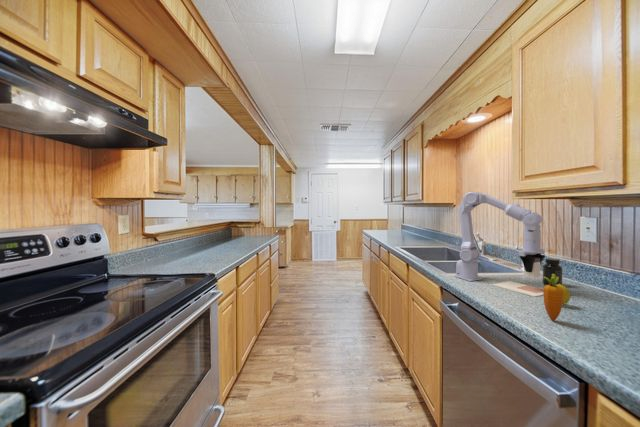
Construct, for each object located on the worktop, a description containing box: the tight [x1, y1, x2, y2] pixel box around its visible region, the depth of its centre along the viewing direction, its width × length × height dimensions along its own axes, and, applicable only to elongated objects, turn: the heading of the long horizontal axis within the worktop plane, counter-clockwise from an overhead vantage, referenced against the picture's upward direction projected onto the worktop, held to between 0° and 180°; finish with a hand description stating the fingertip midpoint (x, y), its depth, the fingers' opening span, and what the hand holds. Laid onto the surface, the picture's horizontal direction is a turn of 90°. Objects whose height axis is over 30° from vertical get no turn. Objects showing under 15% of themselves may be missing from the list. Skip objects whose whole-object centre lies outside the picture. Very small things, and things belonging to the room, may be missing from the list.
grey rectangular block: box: [523, 258, 541, 278], centre depth 116 cm, size 4×4×8 cm
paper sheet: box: [491, 280, 544, 298], centre depth 118 cm, size 18×13×1 cm
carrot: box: [542, 274, 564, 322], centre depth 85 cm, size 5×5×15 cm
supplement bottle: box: [542, 258, 563, 286], centre depth 124 cm, size 7×7×12 cm
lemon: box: [556, 284, 571, 305], centre depth 99 cm, size 6×6×8 cm
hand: (531, 271), depth 116 cm, fingers closed on grey rectangular block, 4 cm apart
